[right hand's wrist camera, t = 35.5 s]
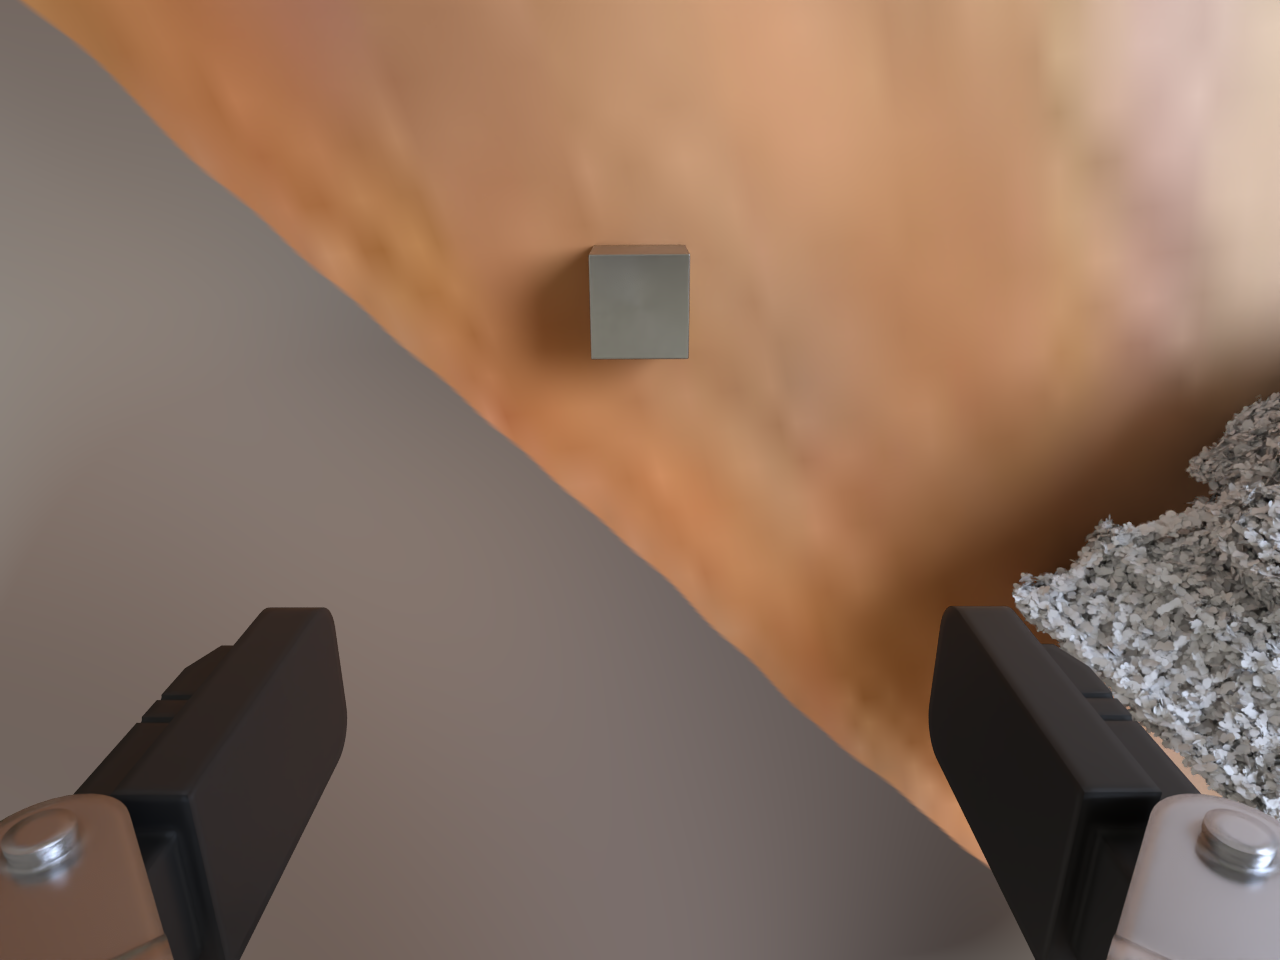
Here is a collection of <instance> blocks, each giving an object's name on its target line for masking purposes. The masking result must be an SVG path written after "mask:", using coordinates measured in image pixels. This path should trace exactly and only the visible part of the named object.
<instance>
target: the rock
mask: <svg viewBox="0 0 1280 960" xmlns="http://www.w3.org/2000/svg"><path fill="white" fill-rule="evenodd" d="M1270 395H1271V394H1270ZM1255 396H1256V395H1255ZM1258 397H1259V396H1258ZM1260 397H1261V396H1260ZM1269 398H1270V397H1268V398H1267V400H1266V401H1265V402H1263V401H1264V400H1263V401H1261V398H1260V400H1259V399H1258V400H1259V401H1258V402H1260V404H1259V403H1256V402H1257V401H1256V402H1255V403H1253V404H1252V405H1251V406H1244V407H1243V409H1244V410H1242V411H1241V413H1239V414H1236V413H1234V415H1237V416H1236V417H1235V416H1234V417H1235V419H1234V418H1233V419H1234V420H1233V421H1229V422H1228V423H1227V425H1226V426H1225V428H1226V433H1225V434H1224V435H1225V436H1224V437H1221V438H1222V439H1220V442H1218V443H1219V444H1218V445H1217V443H1215V442H1213V443H1214V445H1216V446H1217V447H1216V448H1214V447H1211V446H1208V447H1210V448H1211V449H1208V448H1207V447H1206V446H1204V447H1202V448H1203V449H1202V451H1203V452H1201V453H1200V454H1199V453H1198V454H1199V455H1200V456H1197V457H1195V456H1194V457H1195V458H1193V459H1190V460H1188V462H1189V463H1190V464H1191V466H1192V467H1191V466H1189V468H1187V471H1188V472H1189V474H1190V476H1191V478H1192V476H1193V477H1195V478H1196V481H1198V482H1201V481H1203V484H1204V483H1207V482H1209V485H1208V486H1209V487H1210V488H1211V490H1213V491H1209V494H1211V493H1212V494H1213V493H1214V494H1213V495H1212V498H1211V499H1210V500H1209V497H1206V498H1205V496H1203V497H1196V496H1195V497H1196V498H1199V499H1198V500H1197V499H1196V500H1194V502H1188V503H1191V504H1194V503H1195V504H1194V505H1193V506H1192V509H1191V508H1190V507H1187V509H1186V510H1185V511H1184V512H1185V513H1179V516H1177V514H1178V513H1176V512H1175V510H1174V511H1171V510H1170V511H1169V510H1168V512H1166V515H1160V516H1159V519H1160V520H1159V519H1157V520H1156V522H1154V521H1155V520H1153V521H1152V522H1150V521H1149V522H1148V524H1145V523H1144V524H1142V525H1141V524H1140V526H1137V527H1136V528H1135V527H1133V526H1131V525H1132V524H1131V522H1127V525H1126V524H1123V526H1124V527H1122V526H1120V525H1118V524H1117V525H1116V524H1114V522H1112V521H1111V520H1110V517H1111V515H1110V514H1109V520H1108V519H1107V518H1106V521H1105V522H1104V521H1102V519H1101V520H1100V521H1099V523H1098V524H1099V525H1098V526H1097V525H1096V526H1095V529H1097V530H1095V531H1094V532H1093V533H1092V534H1091V533H1089V534H1088V535H1087V536H1086V541H1087V540H1088V543H1087V544H1086V545H1085V547H1083V548H1082V547H1081V548H1082V552H1081V551H1078V552H1077V553H1079V557H1080V558H1079V559H1077V560H1076V561H1074V560H1071V559H1070V561H1072V562H1075V563H1072V564H1071V569H1070V570H1068V571H1067V570H1065V569H1064V568H1061V567H1060V568H1059V567H1058V570H1057V569H1056V570H1057V571H1056V572H1055V574H1052V573H1050V574H1051V575H1049V574H1045V575H1044V576H1042V575H1043V574H1042V575H1041V576H1040V574H1041V573H1040V574H1039V576H1038V577H1036V578H1037V579H1039V580H1035V579H1031V577H1030V576H1033V575H1031V574H1024V573H1023V572H1022V573H1021V577H1022V578H1021V579H1020V580H1019V582H1022V581H1025V583H1023V582H1022V583H1023V584H1022V586H1021V585H1018V584H1017V583H1015V582H1014V584H1013V587H1014V588H1015V589H1014V591H1013V590H1012V591H1013V592H1012V594H1013V597H1015V602H1016V603H1017V604H1016V607H1017V608H1018V609H1019V611H1021V613H1022V614H1023V616H1024V617H1025V618H1026V620H1027V621H1028V622H1029V623H1030V624H1034V625H1037V626H1035V627H1036V628H1038V629H1037V632H1039V630H1040V631H1042V632H1043V633H1048V634H1050V636H1052V637H1051V638H1052V639H1056V640H1058V641H1059V642H1060V643H1059V645H1060V649H1062V650H1064V651H1065V652H1067V653H1068V654H1070V655H1072V656H1073V657H1075V658H1076V659H1078V660H1080V661H1081V662H1083V663H1084V664H1086V665H1088V666H1089V667H1090V668H1091V669H1092V670H1093V671H1094V673H1095V674H1096V675H1097V676H1098V677H1099V678H1100V679H1101V680H1102V682H1103V683H1104V682H1105V683H1104V684H1106V686H1107V687H1109V686H1110V687H1111V689H1112V691H1111V689H1110V687H1109V690H1110V691H1111V692H1112V695H1113V696H1114V698H1117V699H1118V700H1119V701H1120V702H1121V703H1122V704H1123V706H1124V707H1125V708H1127V707H1128V706H1130V707H1131V708H1130V709H1128V711H1129V712H1130V714H1131V715H1132V720H1133V721H1138V722H1140V723H1139V724H1140V725H1141V726H1142V725H1143V726H1146V728H1147V730H1146V731H1147V732H1148V733H1151V732H1152V733H1153V732H1154V733H1155V734H1154V737H1155V736H1156V737H1157V736H1158V737H1159V736H1160V738H1161V739H1162V744H1163V746H1164V747H1165V748H1166V749H1167V748H1169V749H1172V750H1173V749H1174V751H1175V752H1176V753H1178V752H1180V755H1181V756H1184V757H1185V759H1184V760H1183V761H1182V760H1181V761H1182V763H1183V764H1184V767H1187V766H1189V768H1190V767H1192V768H1191V770H1190V771H1191V773H1192V775H1196V774H1199V775H1201V776H1202V777H1203V778H1204V779H1206V783H1207V784H1209V786H1208V790H1211V788H1212V790H1215V791H1217V793H1219V794H1220V795H1221V796H1222V795H1223V797H1222V798H1226V797H1227V799H1230V800H1233V801H1236V802H1238V801H1239V803H1242V804H1245V805H1247V806H1250V807H1252V808H1255V809H1257V810H1259V811H1262V812H1264V813H1266V814H1268V815H1270V816H1272V817H1273V818H1275V819H1277V820H1278V821H1280V395H1279V392H1277V393H1273V394H1272V395H1271V400H1270V399H1269ZM1248 407H1251V408H1248ZM1248 409H1249V410H1248ZM1246 410H1247V411H1246ZM1232 417H1233V416H1232ZM1223 433H1224V432H1223ZM1218 439H1219V438H1218ZM1190 464H1189V465H1190ZM1187 471H1186V472H1187ZM1190 476H1189V477H1190ZM1193 479H1194V478H1193ZM1194 481H1195V480H1194ZM1210 481H1212V482H1210ZM1215 481H1217V482H1215ZM1219 482H1220V483H1219ZM1226 484H1227V485H1226ZM1216 494H1217V495H1219V496H1217V498H1216ZM1210 497H1211V496H1210ZM1192 498H1193V497H1192ZM1194 499H1195V498H1194ZM1213 499H1214V500H1213ZM1215 499H1217V500H1218V502H1217V503H1215V502H1216V501H1217V500H1215ZM1208 500H1209V501H1208ZM1212 500H1213V501H1214V502H1213V501H1212ZM1195 501H1196V502H1195ZM1207 501H1208V502H1207ZM1206 502H1207V503H1206ZM1205 503H1206V504H1205ZM1118 526H1119V527H1118ZM1086 541H1085V542H1086ZM1089 541H1090V542H1089ZM1045 573H1046V572H1045ZM1057 574H1058V575H1057ZM1032 578H1033V577H1032ZM1034 578H1035V577H1034ZM1032 580H1033V581H1032ZM1034 580H1035V581H1037V582H1036V583H1033V582H1034ZM1032 584H1034V585H1032ZM1031 585H1032V586H1031ZM1014 595H1016V596H1014ZM1016 607H1015V608H1016ZM1021 613H1019V614H1021ZM1026 620H1025V621H1026ZM1036 628H1035V629H1036ZM1043 629H1044V631H1043ZM1126 706H1127V707H1126ZM1172 747H1173V748H1172ZM1193 766H1194V767H1193ZM1207 784H1206V785H1207Z"/></svg>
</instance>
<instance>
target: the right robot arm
mask: <svg viewBox="0 0 1280 960" xmlns="http://www.w3.org/2000/svg"><path fill="white" fill-rule="evenodd" d="M346 728H347V709H346V701H345V694H344V687H343V680H342V673H341V666H340V659H339V652H338V645H337V638H336V631H335V625H334V620H333V617H332V615H331V613H330V611H329V610H328V609H327V608H266V609H264V610H263V611H262V612H261V613H260V614H259V615H258V617H257V618H256V619H255V620H254V621H253V623H252V624H251V625H250V626H249V627H248V629H247V630H246V631H245V632H244V634H243V635H242V636H241V637H240V638H239V639H238V641H237V642H236V643H235V644H234V646H220V647H218V648H217V649H215V650H214V651H212V652H210V653H209V654H207V655H206V656H204V657H202V658H201V659H199V660H198V661H196V662H195V663H193V664H191V665H190V666H188V667H186V668H185V669H184V670H183V671H182V672H181V674H180V675H179V676H178V677H177V678H176V679H175V680H174V681H173V683H172V684H171V685H170V686H169V687H168V688H167V689H166V690H165V692H164V693H163V694H162V698H161V700H157V701H156V702H155V703H154V704H153V705H152V706H151V707H150V709H149V710H148V711H147V712H146V713H145V714H144V715H143V716H142V722H141V723H136V724H135V726H134V727H133V728H132V729H131V730H130V731H129V732H128V733H127V735H126V736H125V737H124V738H123V739H122V740H121V741H120V742H119V744H118V745H117V746H116V747H115V748H114V749H113V750H112V751H111V753H110V754H109V755H108V756H107V757H106V758H105V759H104V760H103V762H102V763H101V764H100V765H99V766H98V767H97V768H96V769H95V771H94V772H93V773H92V774H91V775H90V776H89V777H88V779H87V780H86V781H85V782H84V783H83V784H82V785H81V786H80V788H79V789H78V790H77V791H76V792H75V793H74V794H73V795H68V796H63V797H58V798H54V799H50V800H47V801H44V802H41V803H38V804H35V805H33V806H30V807H28V808H25V809H23V810H21V811H19V812H16V813H14V814H12V815H10V816H8V817H7V818H5V819H3V820H2V821H0V960H240V958H241V956H242V954H243V952H244V950H245V948H246V946H247V944H248V942H249V940H250V938H251V936H252V934H253V932H254V930H255V928H256V926H257V924H258V922H259V920H260V918H261V916H262V914H263V912H264V910H265V908H266V906H267V904H268V902H269V900H270V898H271V896H272V894H273V892H274V890H275V888H276V885H277V884H278V882H279V880H280V878H281V876H282V874H283V871H284V870H285V867H286V865H287V863H288V861H289V859H290V857H291V855H292V853H293V851H294V849H295V847H296V845H297V843H298V841H299V839H300V837H301V835H302V833H303V831H304V829H305V827H306V825H307V823H308V821H309V819H310V817H311V815H312V813H313V811H314V809H315V807H316V805H317V803H318V801H319V799H320V797H321V795H322V793H323V791H324V789H325V787H326V785H327V783H328V781H329V779H330V777H331V775H332V773H333V771H334V769H335V767H336V765H337V763H338V761H339V759H340V756H341V753H342V750H343V747H344V742H345V737H346ZM929 731H930V738H931V743H932V747H933V750H934V753H935V756H936V758H937V760H938V762H939V764H940V766H941V768H942V770H943V772H944V775H945V777H946V779H947V781H948V783H949V785H950V787H951V789H952V791H953V793H954V795H955V797H956V799H957V801H958V803H959V805H960V807H961V809H962V811H963V813H964V815H965V817H966V819H967V821H968V823H969V825H970V827H971V829H972V832H973V834H974V836H975V838H976V840H977V842H978V844H979V846H980V848H981V850H982V852H983V854H984V856H985V858H986V860H987V862H988V864H989V866H990V868H991V870H992V872H993V874H994V876H995V878H996V880H997V882H998V884H999V886H1000V889H1001V891H1002V893H1003V895H1004V897H1005V899H1006V901H1007V903H1008V905H1009V907H1010V909H1011V911H1012V913H1013V915H1014V917H1015V919H1016V921H1017V923H1018V925H1019V927H1020V929H1021V931H1022V933H1023V935H1024V937H1025V939H1026V941H1027V943H1028V945H1029V947H1030V950H1031V952H1032V954H1033V956H1034V958H1035V960H1280V821H1278V820H1277V819H1275V818H1273V817H1272V816H1270V815H1268V814H1266V813H1264V812H1262V811H1259V810H1257V809H1255V808H1252V807H1250V806H1247V805H1245V804H1242V803H1239V802H1236V801H1233V800H1230V799H1226V798H1222V797H1217V796H1212V795H1205V794H1201V793H1200V792H1199V791H1198V790H1197V789H1196V788H1195V786H1194V785H1193V784H1192V783H1191V782H1190V781H1189V780H1188V778H1187V777H1186V776H1185V775H1184V774H1183V773H1182V772H1181V770H1180V769H1179V768H1178V767H1177V766H1176V765H1175V764H1174V763H1173V761H1172V760H1171V759H1170V758H1169V757H1168V756H1167V755H1166V753H1165V752H1164V751H1163V750H1162V749H1161V748H1160V747H1159V745H1158V744H1157V743H1156V742H1155V741H1154V740H1153V739H1152V737H1151V736H1150V735H1149V734H1148V733H1147V732H1146V731H1145V729H1144V728H1143V727H1142V726H1141V725H1140V724H1139V723H1138V722H1137V721H1133V720H1132V715H1131V714H1130V712H1129V711H1128V710H1127V709H1126V708H1125V707H1124V706H1123V704H1122V703H1121V702H1120V701H1119V700H1118V699H1117V698H1113V696H1112V692H1111V691H1110V690H1109V688H1108V687H1107V686H1106V685H1105V684H1104V683H1103V682H1102V680H1101V679H1100V678H1099V677H1098V676H1097V675H1096V674H1095V673H1094V671H1093V670H1092V669H1091V668H1090V667H1089V666H1088V665H1086V664H1084V663H1083V662H1081V661H1080V660H1078V659H1076V658H1075V657H1073V656H1072V655H1070V654H1068V653H1067V652H1065V651H1064V650H1062V649H1060V648H1059V647H1057V646H1056V645H1054V644H1041V643H1040V642H1039V641H1038V640H1037V638H1036V637H1035V636H1034V635H1033V634H1032V632H1031V631H1030V630H1029V629H1028V627H1027V626H1026V625H1025V624H1024V623H1023V621H1022V620H1021V619H1020V618H1019V617H1018V615H1017V614H1016V613H1015V612H1014V611H1013V610H1012V609H1011V608H1010V607H1007V606H950V607H948V608H947V609H946V610H945V612H944V614H943V617H942V620H941V625H940V632H939V640H938V647H937V654H936V661H935V668H934V675H933V682H932V689H931V697H930V704H929Z"/></svg>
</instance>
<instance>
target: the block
mask: <svg viewBox="0 0 1280 960" xmlns="http://www.w3.org/2000/svg"><path fill="white" fill-rule="evenodd" d="M689 293H690V254H689V252H688V250H687V248H686V246H685V245H594V246H593V248H592V250H591V252H590V254H589V294H590V333H591V359H688V358H689Z"/></svg>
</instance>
